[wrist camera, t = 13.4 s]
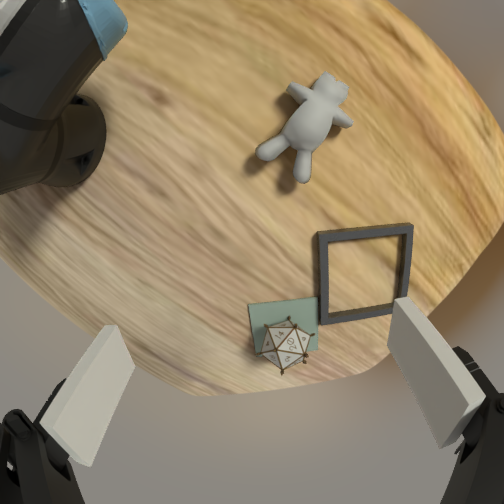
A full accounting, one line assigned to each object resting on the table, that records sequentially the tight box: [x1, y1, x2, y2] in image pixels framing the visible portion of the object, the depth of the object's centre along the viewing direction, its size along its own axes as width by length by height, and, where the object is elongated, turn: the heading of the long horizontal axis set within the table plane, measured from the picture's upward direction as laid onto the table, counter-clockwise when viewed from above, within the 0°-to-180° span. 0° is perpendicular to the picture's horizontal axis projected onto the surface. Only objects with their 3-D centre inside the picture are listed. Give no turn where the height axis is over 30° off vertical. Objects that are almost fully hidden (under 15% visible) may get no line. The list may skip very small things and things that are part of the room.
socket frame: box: [317, 223, 414, 325], centre depth 42 cm, size 15×15×2 cm
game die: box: [256, 315, 315, 375], centre depth 42 cm, size 9×8×10 cm
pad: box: [248, 297, 318, 357], centre depth 46 cm, size 11×11×1 cm
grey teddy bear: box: [255, 71, 354, 184], centre depth 33 cm, size 10×5×15 cm
